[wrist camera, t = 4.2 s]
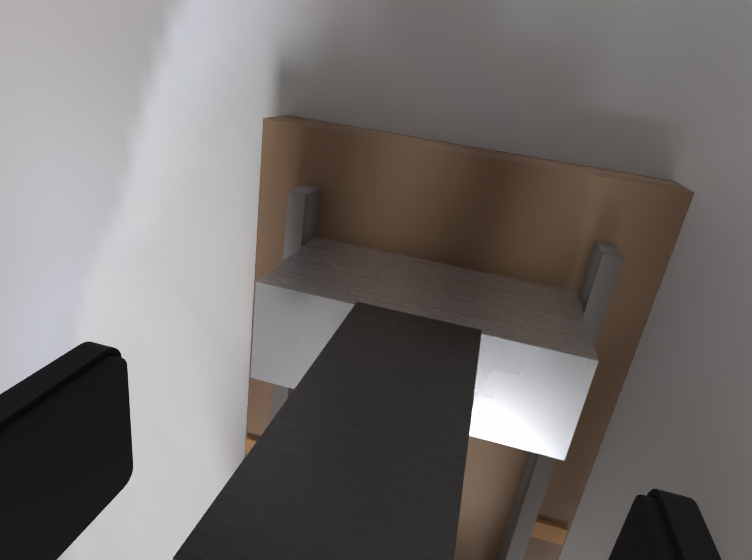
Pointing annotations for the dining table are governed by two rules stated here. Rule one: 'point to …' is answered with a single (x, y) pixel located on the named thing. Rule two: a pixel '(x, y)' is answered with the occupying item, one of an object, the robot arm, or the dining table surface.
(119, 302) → the dining table surface
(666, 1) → the dining table surface
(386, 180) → the cracker base
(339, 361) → the jaw
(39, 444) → the robot arm
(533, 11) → the dining table surface
